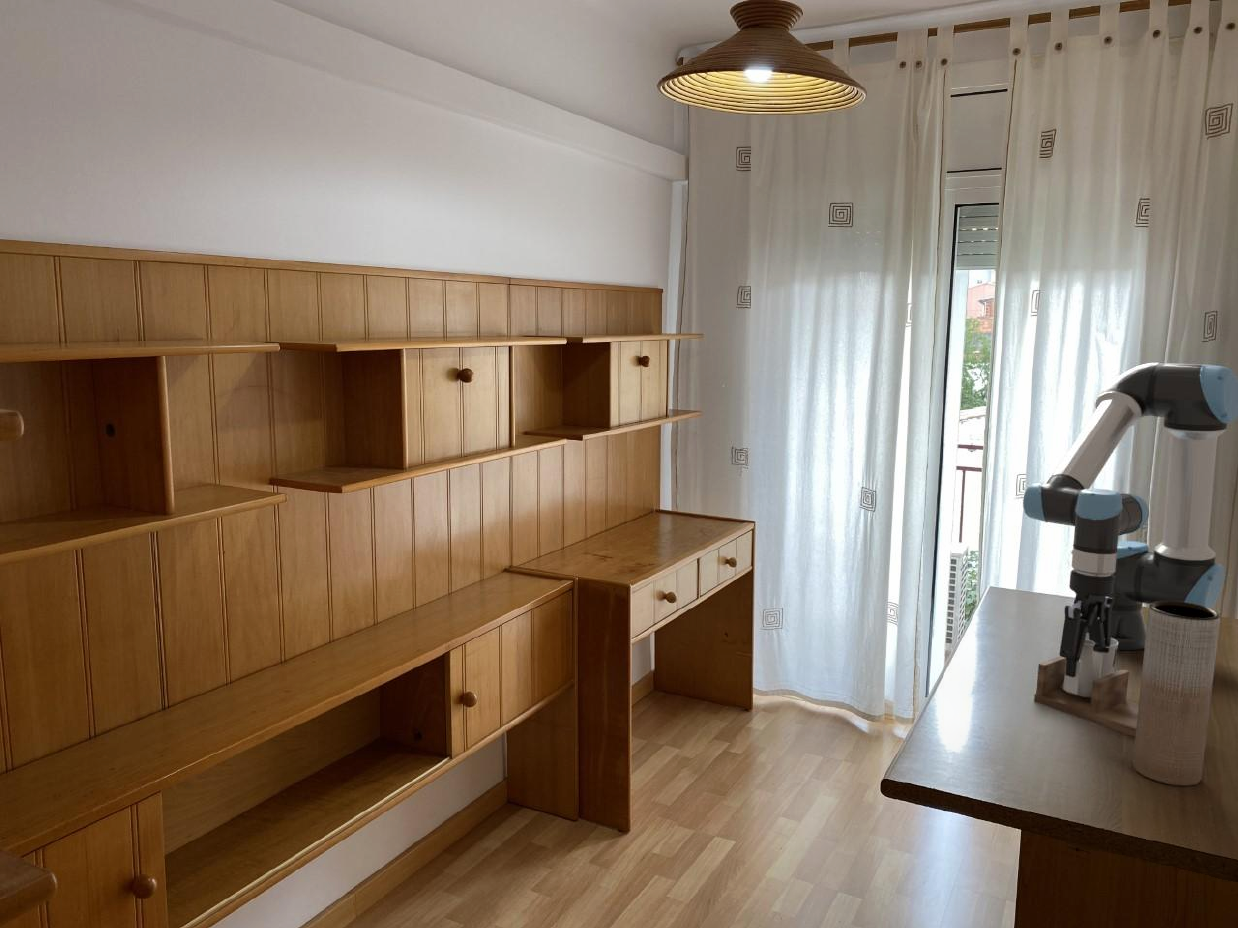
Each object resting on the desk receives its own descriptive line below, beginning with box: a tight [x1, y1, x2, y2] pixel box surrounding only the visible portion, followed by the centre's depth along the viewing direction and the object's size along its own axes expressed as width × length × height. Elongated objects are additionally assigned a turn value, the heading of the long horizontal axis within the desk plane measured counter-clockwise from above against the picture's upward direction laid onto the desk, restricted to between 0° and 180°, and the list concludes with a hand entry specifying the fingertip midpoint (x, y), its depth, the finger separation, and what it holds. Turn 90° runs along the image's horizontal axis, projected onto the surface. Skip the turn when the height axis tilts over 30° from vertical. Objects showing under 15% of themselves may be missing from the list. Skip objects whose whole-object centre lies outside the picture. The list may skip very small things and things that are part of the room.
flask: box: [1061, 639, 1098, 697], centre depth 187 cm, size 7×7×10 cm
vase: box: [1132, 601, 1221, 787], centre depth 158 cm, size 10×10×28 cm
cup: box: [1085, 633, 1118, 678], centre depth 197 cm, size 8×8×10 cm
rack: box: [1033, 655, 1139, 738], centre depth 184 cm, size 12×23×8 cm, turn 36°
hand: (1081, 687), depth 188 cm, fingers closed on flask, 7 cm apart
